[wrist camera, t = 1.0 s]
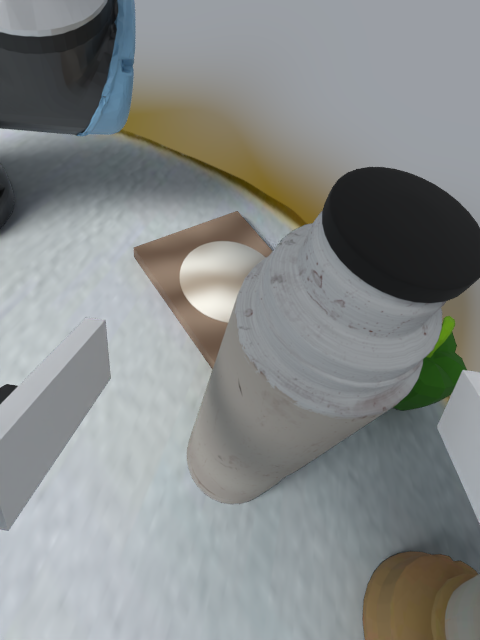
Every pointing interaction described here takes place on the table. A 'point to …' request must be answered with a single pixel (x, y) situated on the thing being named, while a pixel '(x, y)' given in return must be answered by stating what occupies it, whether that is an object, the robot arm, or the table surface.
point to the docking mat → (203, 274)
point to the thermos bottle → (331, 329)
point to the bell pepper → (436, 372)
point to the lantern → (422, 599)
